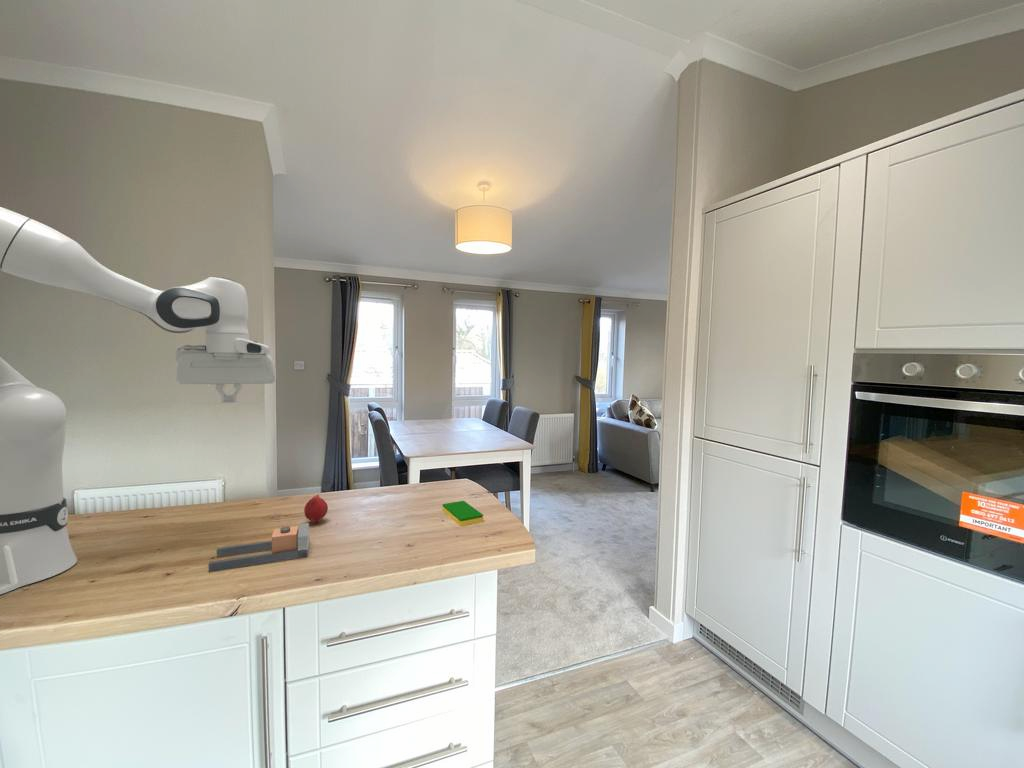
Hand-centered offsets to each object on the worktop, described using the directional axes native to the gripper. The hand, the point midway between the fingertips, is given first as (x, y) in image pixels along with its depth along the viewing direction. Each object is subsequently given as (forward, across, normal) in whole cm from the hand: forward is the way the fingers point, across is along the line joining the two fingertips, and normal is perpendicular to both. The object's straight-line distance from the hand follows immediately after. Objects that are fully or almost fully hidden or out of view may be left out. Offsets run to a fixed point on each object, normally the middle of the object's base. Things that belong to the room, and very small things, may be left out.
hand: (229, 402), depth 104 cm
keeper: (+34, +13, -14) cm, 39 cm away
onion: (+34, +19, +3) cm, 39 cm away
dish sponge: (+35, +58, -6) cm, 68 cm away
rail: (+34, +8, -14) cm, 38 cm away
